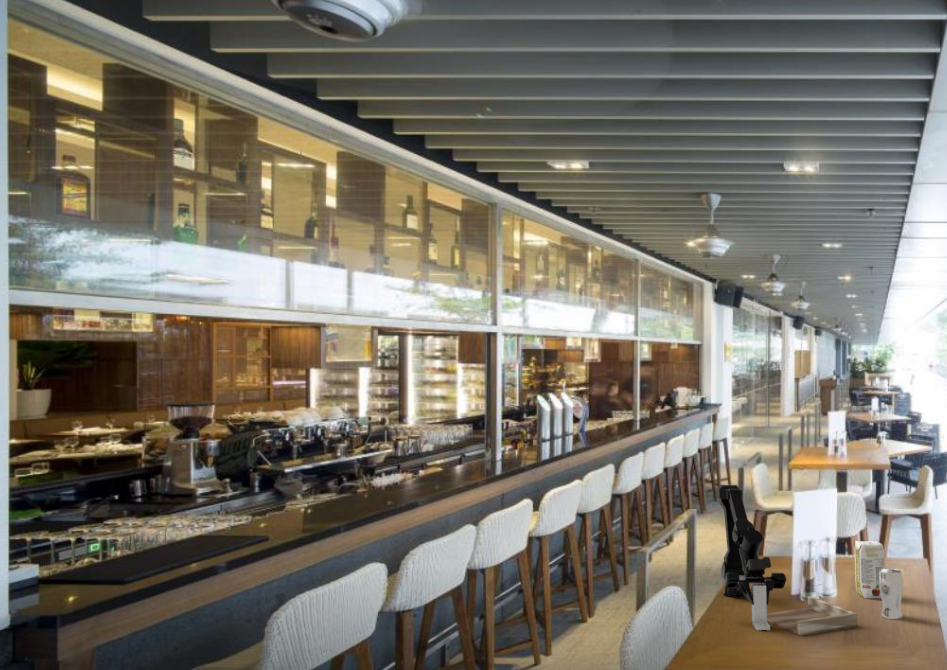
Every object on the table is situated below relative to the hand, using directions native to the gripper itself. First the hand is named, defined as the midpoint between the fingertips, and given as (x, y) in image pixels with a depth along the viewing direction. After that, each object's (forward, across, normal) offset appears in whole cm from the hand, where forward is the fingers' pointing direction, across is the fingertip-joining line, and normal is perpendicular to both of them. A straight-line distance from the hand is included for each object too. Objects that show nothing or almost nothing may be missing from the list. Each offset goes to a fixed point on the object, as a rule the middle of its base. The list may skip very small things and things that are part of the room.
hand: (760, 604), depth 261 cm
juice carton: (-20, +47, +30) cm, 59 cm away
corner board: (+1, +16, +9) cm, 18 cm away
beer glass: (-3, +45, +14) cm, 47 cm away
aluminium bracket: (+5, 0, +5) cm, 7 cm away
